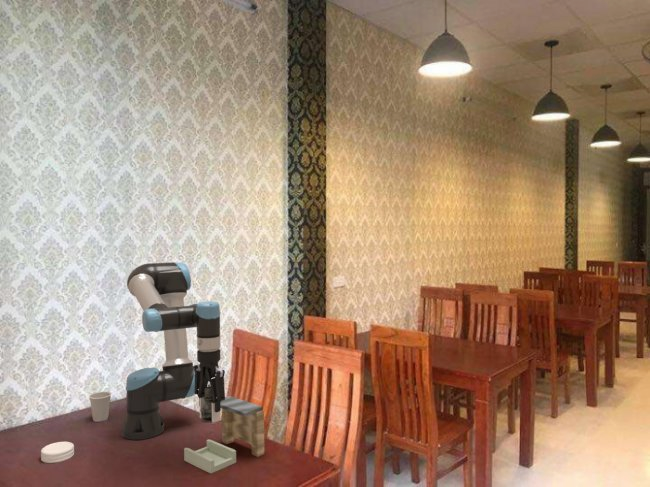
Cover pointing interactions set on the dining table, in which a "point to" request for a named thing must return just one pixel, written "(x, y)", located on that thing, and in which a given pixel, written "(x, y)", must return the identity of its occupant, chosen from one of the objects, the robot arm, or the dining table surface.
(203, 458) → the pale green tray
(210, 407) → the dark grey tall piece
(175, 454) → the dining table surface
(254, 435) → the checkered stool block
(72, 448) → the coaster
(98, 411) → the dixie cup
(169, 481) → the dining table surface
